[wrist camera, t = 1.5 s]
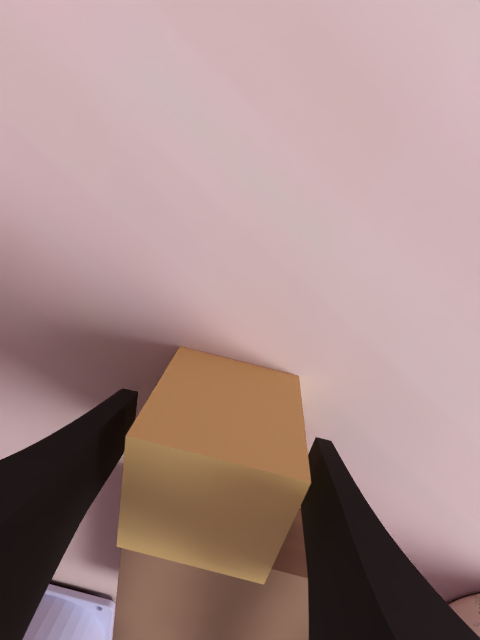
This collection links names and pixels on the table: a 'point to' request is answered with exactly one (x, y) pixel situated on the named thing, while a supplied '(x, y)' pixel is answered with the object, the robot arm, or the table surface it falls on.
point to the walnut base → (213, 599)
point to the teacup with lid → (469, 611)
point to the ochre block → (215, 466)
